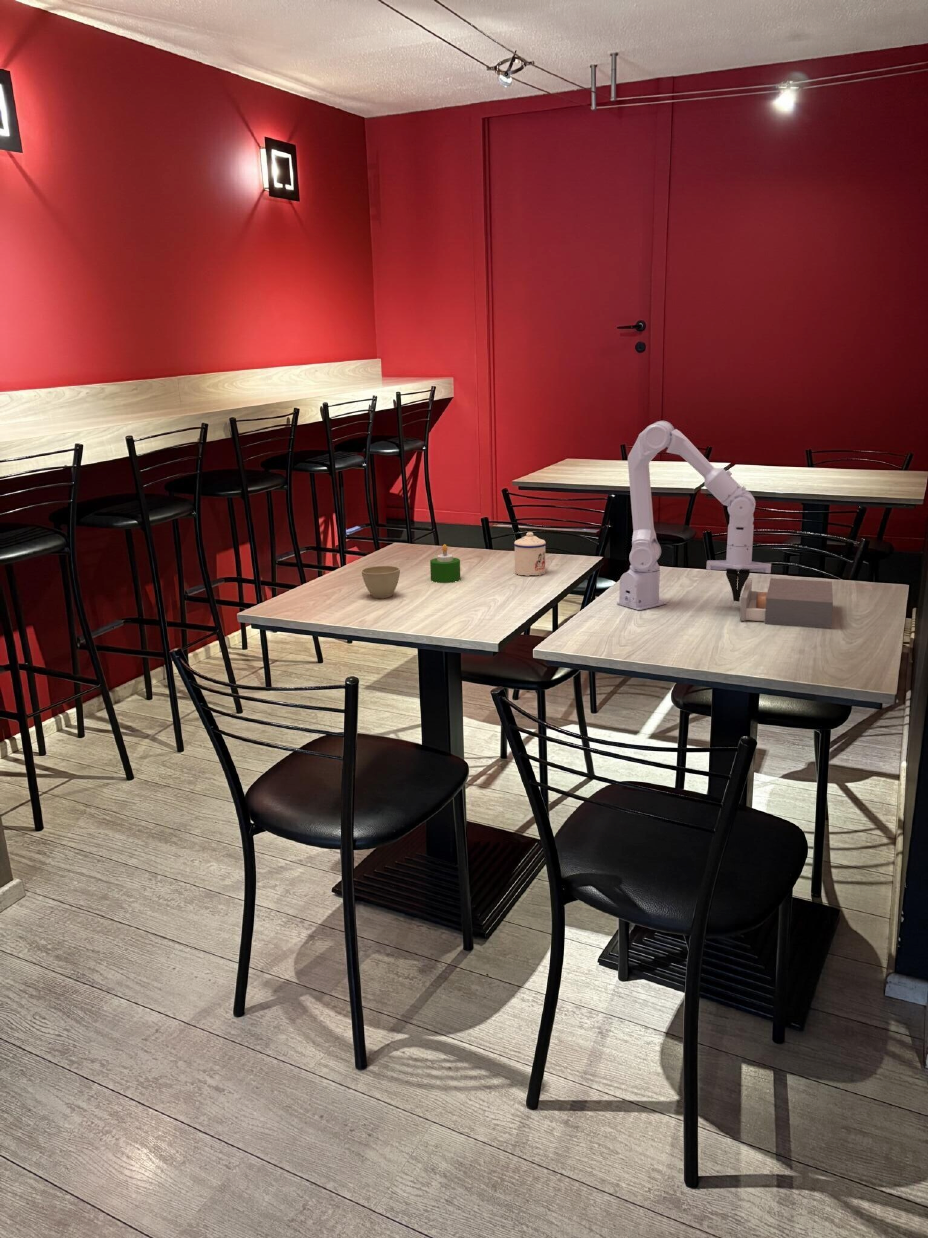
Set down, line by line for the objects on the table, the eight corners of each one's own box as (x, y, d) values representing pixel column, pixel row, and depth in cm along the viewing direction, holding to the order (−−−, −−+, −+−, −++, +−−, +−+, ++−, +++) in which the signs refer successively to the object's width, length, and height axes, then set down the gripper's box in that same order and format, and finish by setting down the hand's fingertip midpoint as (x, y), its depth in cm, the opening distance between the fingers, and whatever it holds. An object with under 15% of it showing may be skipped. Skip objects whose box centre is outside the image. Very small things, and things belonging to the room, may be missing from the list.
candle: (426, 582, 258) (425, 546, 256) (436, 575, 266) (435, 540, 263) (455, 583, 256) (454, 547, 253) (464, 576, 264) (463, 541, 261)
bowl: (404, 591, 249) (402, 565, 247) (397, 601, 240) (396, 573, 238) (367, 591, 250) (365, 565, 248) (359, 600, 241) (357, 573, 239)
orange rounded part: (768, 613, 218) (769, 598, 217) (751, 608, 222) (752, 594, 221) (782, 609, 221) (783, 595, 220) (765, 605, 225) (765, 591, 224)
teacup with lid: (540, 577, 260) (540, 536, 257) (509, 575, 264) (509, 534, 260) (552, 568, 271) (552, 528, 268) (522, 566, 274) (522, 527, 271)
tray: (797, 603, 228) (799, 580, 227) (795, 624, 211) (797, 600, 209) (745, 599, 232) (747, 577, 231) (739, 621, 215) (741, 597, 213)
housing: (829, 605, 226) (832, 581, 224) (830, 628, 208) (832, 602, 206) (769, 601, 231) (770, 578, 229) (764, 623, 213) (766, 598, 211)
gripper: (706, 546, 218) (703, 602, 222) (771, 549, 214) (767, 606, 217) (709, 540, 225) (706, 595, 228) (772, 543, 220) (769, 599, 224)
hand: (736, 600), depth 223 cm, fingers closed
